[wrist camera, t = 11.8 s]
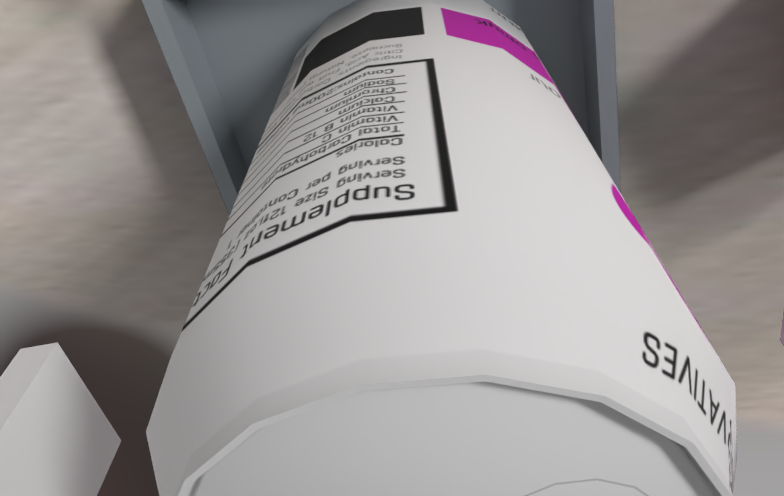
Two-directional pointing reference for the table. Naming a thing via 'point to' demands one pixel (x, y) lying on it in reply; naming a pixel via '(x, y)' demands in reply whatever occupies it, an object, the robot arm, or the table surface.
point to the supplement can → (436, 292)
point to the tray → (298, 23)
